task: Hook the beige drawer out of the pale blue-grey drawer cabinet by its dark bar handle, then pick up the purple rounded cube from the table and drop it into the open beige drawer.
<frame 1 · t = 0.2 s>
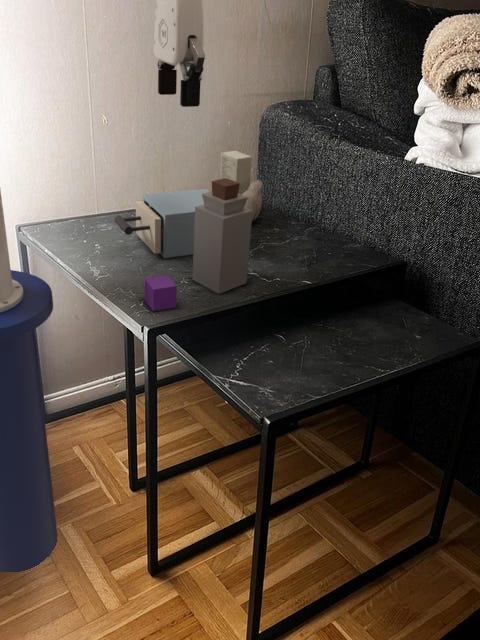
hand: (178, 100, 103), 28 cm above the table, tool pointing down, fingers open, 9 cm apart
drawer cabinet: (185, 242, 122), on the table
purple rounded cube: (160, 304, 99), on the table
decorative bird: (245, 223, 134), on the table
cosmetic box: (233, 207, 142), on the table
perfume bottle: (219, 282, 108), on the table
beige drawer: (163, 224, 118), point 4 cm above the table, slide at 0.5 cm
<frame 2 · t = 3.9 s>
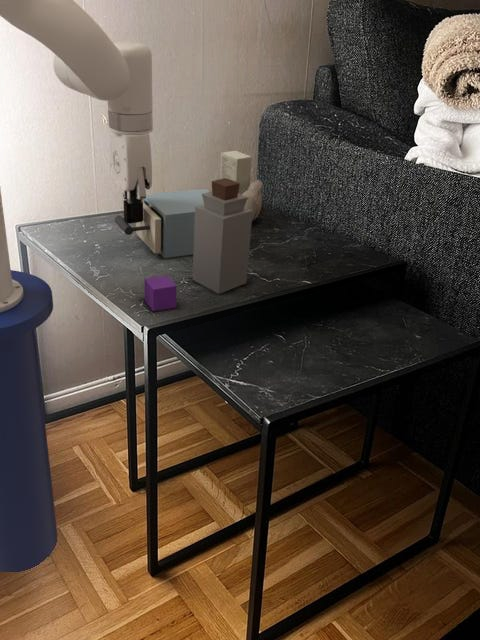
hand: (133, 220, 115), 6 cm above the table, tool pointing down, fingers closed
beige drawer: (163, 224, 118), point 4 cm above the table, slide at 0.5 cm, touching gripper
everything else where it was.
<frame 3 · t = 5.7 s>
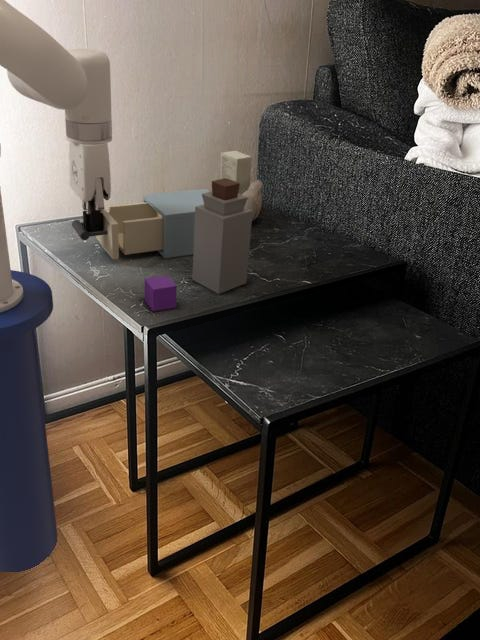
hand: (93, 232, 112), 4 cm above the table, tool pointing down, fingers closed
beige drawer: (122, 229, 114), point 4 cm above the table, slide at 8.6 cm, touching gripper
everything else where it was.
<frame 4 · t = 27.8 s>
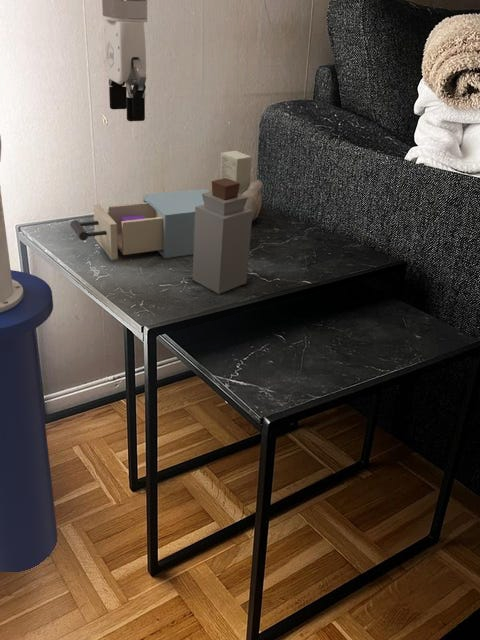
hand: (126, 114, 112), 23 cm above the table, tool pointing down, fingers open, 9 cm apart
purple rounded cube: (135, 239, 116), point 2 cm above the table, touching beige drawer
beige drawer: (121, 229, 114), point 4 cm above the table, slide at 8.8 cm, touching purple rounded cube
everything else where it was.
at the end: beige drawer slide at 8.8 cm; purple rounded cube inside the target area in the beige drawer (2.9 cm from its centre), point 2.0 cm above the drawer cabinet's base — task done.
